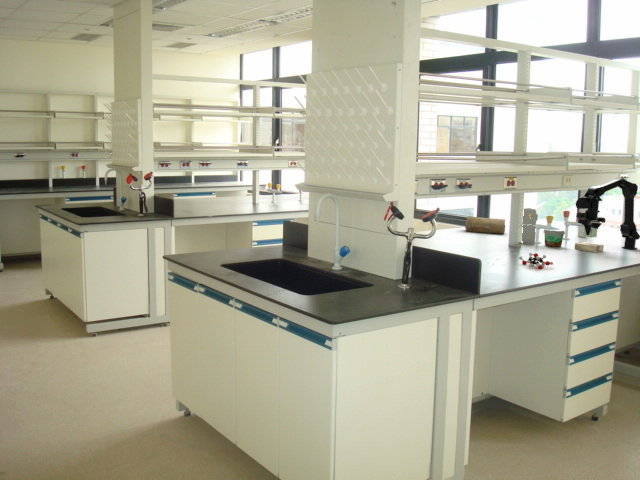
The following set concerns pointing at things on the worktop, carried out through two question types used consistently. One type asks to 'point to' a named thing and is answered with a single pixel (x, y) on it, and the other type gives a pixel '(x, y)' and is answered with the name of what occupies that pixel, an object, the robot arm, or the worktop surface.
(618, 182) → the robot arm
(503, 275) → the worktop surface
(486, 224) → the core sample
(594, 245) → the birch block
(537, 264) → the molecular model
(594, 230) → the sage cube
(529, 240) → the grey tall slab
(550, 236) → the food container
